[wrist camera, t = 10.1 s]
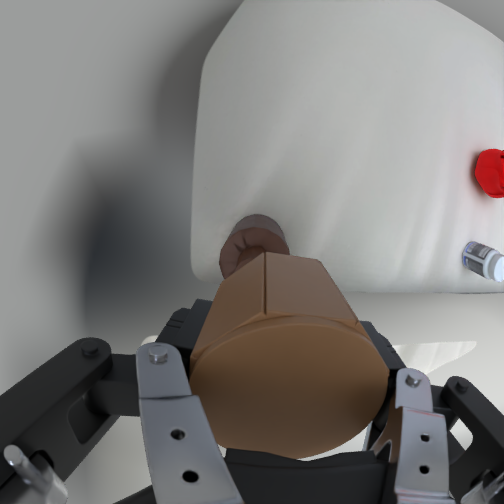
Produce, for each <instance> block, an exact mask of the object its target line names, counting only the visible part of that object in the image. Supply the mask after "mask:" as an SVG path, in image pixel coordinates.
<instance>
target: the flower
mask: <svg viewBox="0 0 504 504" xmlns="http://www.w3.org/2000/svg"><path fill="white" fill-rule="evenodd" d="M475 177H476V179H477V181H478V183H479V184H480V186H481V187H482V189H483V190H484V191H485V193H486V194H488V195H489V196H490V197H493V198H502V197H504V150H503V151H501V150H498V149H488V150H485V151H483V152H481V153H480V155H479V158H478V161H477V165H476V169H475Z"/></svg>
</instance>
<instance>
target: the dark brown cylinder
mask: <svg viewBox="0 0 504 504" xmlns="http://www.w3.org/2000/svg"><path fill="white" fill-rule="evenodd" d="M266 252H271V253H278V254H284V255H290V253H289V249H288V246H287V243H286V240H285V238H284V235H283V232H282V230H281V228H280V227H279V225H278V224H277V223H276V222H275V221H274V220H272V219H271V218H269V217H267V216H264V215H250V216H247V217H245V218H243V219H242V220H241V221H239V222H238V223H237V224H236V226H235V228H234V229H233V231H232V232H231V234H230V236H229V237H228V239H227V241H226V242H225V244H224V246H223V247H222V249H221V253H220V261H219V265H220V268H221V272H222V275H223V277H224V279H226V278H228V277H229V276H231V275H232V274H233V273H235V272H236V271H238V270H239V269H240V268H242V267H243V266H245V265H246V264H248V263H249V262H250V261H252V260H253V259H255V258H256V257H257V256H259V255H260V254H262V253H266Z"/></svg>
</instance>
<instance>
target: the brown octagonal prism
mask: <svg viewBox="0 0 504 504" xmlns="http://www.w3.org/2000/svg"><path fill="white" fill-rule="evenodd" d="M389 373H390V371H389V369H388V367H387V366H386V364H385V362H384V361H383V359H382V357H381V356H380V354H379V352H378V351H377V349H376V347H375V346H374V344H373V342H372V341H371V339H370V337H369V336H368V334H367V332H366V331H365V329H364V328H363V326H362V324H361V323H360V321H359V320H358V318H357V316H356V315H355V313H354V312H353V311H352V309H351V307H350V306H349V304H348V302H347V301H346V299H345V298H344V296H343V295H342V293H341V292H340V290H339V288H338V287H337V285H336V284H335V282H334V281H333V279H332V278H331V276H330V275H329V273H328V272H327V270H326V269H325V267H324V266H323V264H322V263H321V262H320V261H318V260H317V259H310V258H304V257H297V256H291V255H284V254H278V253H271V252H266V253H262V254H260V255H259V256H257V257H256V258H255V259H253V260H252V261H250V262H249V263H248V264H246V265H245V266H243V267H242V268H240V269H239V270H238V271H236V272H235V273H233V274H232V275H231V276H229V277H228V278H226V279H225V280H223V281H222V283H221V284H220V287H219V289H218V291H217V294H216V296H215V298H214V301H213V303H212V305H211V308H210V310H209V313H208V315H207V317H206V320H205V322H204V325H203V327H202V329H201V332H200V334H199V337H198V339H197V342H196V344H195V346H194V349H193V351H192V354H191V356H190V376H189V381H188V382H189V385H190V388H191V391H192V394H197V395H198V396H199V398H200V400H201V403H202V406H203V408H204V411H205V414H206V416H207V419H208V422H209V424H210V427H211V430H212V432H213V435H214V437H215V440H216V442H217V444H219V445H220V446H222V447H224V448H226V449H227V448H234V449H242V450H251V451H261V452H268V453H272V454H276V455H280V456H284V457H288V458H292V459H299V458H306V457H310V456H314V455H318V454H321V453H324V452H326V451H329V450H332V449H334V448H336V447H338V446H340V445H342V444H344V443H346V442H347V441H349V440H351V439H352V438H353V437H355V436H356V435H357V434H359V433H360V432H361V431H362V430H363V429H365V428H366V427H367V426H368V425H369V424H370V422H371V421H372V420H373V419H374V418H375V416H376V415H377V413H378V412H379V410H380V408H381V406H382V404H383V402H384V399H385V396H386V393H387V386H388V378H389Z"/></svg>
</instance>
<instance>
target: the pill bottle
mask: <svg viewBox="0 0 504 504" xmlns="http://www.w3.org/2000/svg"><path fill="white" fill-rule="evenodd" d="M463 264H464V266H465V267H466V268H468V269H470V270H471V271H473V272H475V273H477V274H479V275H481V276H483V277H485V278H486V279H493V280H495V281H497V282H500V281H502V280H503V279H504V255H502V254H500V253H499V252H498V251H497V250H495V249H493V248H490V247H488V246H485V245H482V244H480V243H477V242H470V243H469V244H468V245H467V246H466V247H465V249H464V252H463Z"/></svg>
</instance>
